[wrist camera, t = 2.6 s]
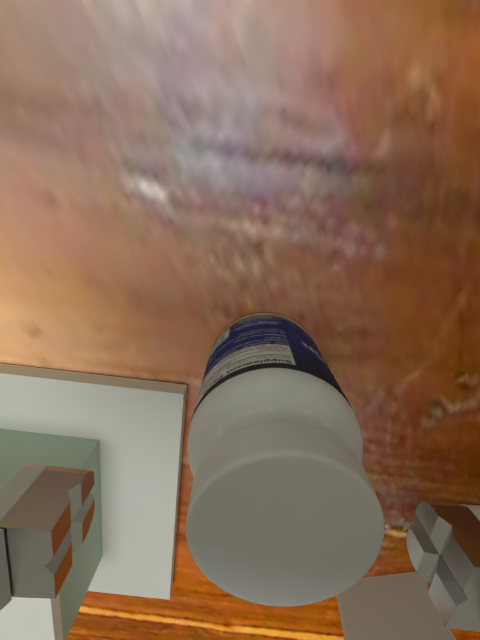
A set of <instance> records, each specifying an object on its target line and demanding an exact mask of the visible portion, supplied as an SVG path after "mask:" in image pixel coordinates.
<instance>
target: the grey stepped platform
mask: <svg viewBox="0 0 480 640" xmlns="http://www.w3.org/2000/svg"><path fill="white" fill-rule="evenodd" d="M186 395H187V385H185V384H176V383H167V382H159V381H150V380H141V379H133V378H124V377H115V376H107V375H98V374H89V373H81V372H72V371H63V370H55V369H46V368H37V367H29V366H20V365H11V364H3V363H0V490H1V489H2V488H3V487H4V486H5V485H6V484H7V482H8V481H9V480H10V479H11V478H12V477H13V476H14V475H15V474H16V473H17V472H18V470H19V469H20V468H21V467H23V466H25V465H27V464H37V465H45V466H58V467H66V468H74V469H83V470H91V471H93V472H94V481H95V484H94V486H93V487H92V489H91V491H90V493H91V494H92V496H93V497H94V498H95V508H94V514H93V519H92V522H91V525H90V528H89V531H88V534H87V536H86V538H85V540H84V542H83V544H82V545H81V546H79V547H78V548H77V549H76V550H74V551H73V552H72V566H71V568H70V571H69V573H68V575H67V577H66V579H65V581H64V583H63V585H62V587H61V589H60V591H59V593H58V595H57V597H56V599H47V598H22V597H12V600H11V601H10V602H9V603H8V604H7V605H6V606H5V607H4V608H3V609H1V610H0V640H66V638H67V636H68V634H69V631H70V629H71V627H72V624H73V622H74V620H75V618H76V615H77V613H78V611H79V609H80V606H81V604H82V602H83V599H84V597H85V595H86V593H87V591H94V592H103V593H113V594H122V595H131V596H141V597H150V598H159V599H168V600H170V595H171V590H172V585H173V575H174V561H175V547H176V534H177V520H178V506H179V492H180V478H181V464H182V450H183V436H184V422H185V408H186Z"/></svg>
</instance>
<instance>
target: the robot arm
mask: <svg viewBox="0 0 480 640" xmlns="http://www.w3.org/2000/svg"><path fill="white" fill-rule="evenodd" d="M94 484H95V481H94V472H93V471H91V470H83V469H74V468H66V467H58V466H45V465H37V464H27V465H25V466H23V467H21V468H20V469H19V470H18V472H17V473H16V474H15V475H14V476H13V477H12V478H11V479H10V480H9V481H8V482H7V484H6V485H5V486H4V487H3V488H2V489H1V490H0V610H1V609H3V608H4V607H5V606H6V605H7V604H8V603H9V602H10V601H11V600H12V597H22V598H47V599H56V597H57V595H58V593H59V591H60V589H61V587H62V585H63V583H64V581H65V579H66V577H67V575H68V573H69V571H70V568H71V566H72V552H73V551H74V550H76V549H77V548H78V547H79V546H81V545H82V544H83V542H84V540H85V538H86V536H87V534H88V531H89V528H90V525H91V522H92V519H93V514H94V508H95V498H94V497H93V496H92V494H91V493H90V491H91V489H92V487H93V486H94ZM415 515H416V517H417V519H418V520H417V521H416V522H415V523H413V524H412V525H411V526H410V527H409V530H408V533H407V537H406V539H407V550H408V553H409V556H410V560H411V562H412V564H413V566H414V568H415V570H416V572H417V573H418V574H420V575H421V576H422V577H423V578H424V579H425V580H426V581H427V582H428V595H429V596H430V598H431V600H432V602H433V604H434V606H435V608H436V610H437V611H438V613H439V615H440V617H441V619H442V621H443V623H444V625H445V627H446V628H450V629H459V630H468V631H477V632H480V506H476V505H464V504H461V505H459V504H451V503H439V502H426V501H422V502H421V503H419V504H418V505H417V508H416V510H415Z"/></svg>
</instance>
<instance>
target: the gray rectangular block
mask: <svg viewBox="0 0 480 640" xmlns="http://www.w3.org/2000/svg"><path fill="white" fill-rule="evenodd" d="M336 597H337V602H338V608H339V613H340V618H341V624H342V629H343V634H344V639H345V640H456V639H455V637H454V635H453V633H452V631H451V629H450V628H446V627H445V625H444V623H443V621H442V619H441V617H440V615H439V613H438V611H437V610H436V608H435V606H434V604H433V602H432V600H431V598H430V596H429V595H428V583H427V581H426V580H425V579H424V578H423V577H422V576H421V575H420V574H418V573H417V572H416V571H415V572H406V573H398V574H390V575H382V576H374V577H366V578H361V579H360V580H359V581H358V582H357V583H355V584H354V585H352V586H351V587H349V588H348V589H346V590H345V591H343V592H341V593H339V594H337V595H336Z"/></svg>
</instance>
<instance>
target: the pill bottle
mask: <svg viewBox="0 0 480 640" xmlns="http://www.w3.org/2000/svg"><path fill="white" fill-rule="evenodd" d="M187 450H188V460H189V464H190V468H191V471H192V474H193V476H194V479H193V484H192V488H191V496H190V502H189V508H188V514H187V521H186V535H187V543H188V547H189V550H190V553H191V555H192V557H193V559H194V561H195V563H196V565H197V566H198V568H199V569H200V570H201V571H202V573H203V574H204V575H205V576H206V577H207V578H208V579H209V580H210V581H211V582H212V583H214V584H215V585H217V586H218V587H219V588H221V589H222V590H224V591H225V592H227V593H229V594H231V595H233V596H235V597H238V598H240V599H243V600H246V601H249V602H252V603H256V604H261V605H268V606H281V607H286V606H301V605H307V604H312V603H316V602H320V601H323V600H325V599H328V598H331V597H333V596H335V595H337V594H339V593H341V592H343V591H345V590H346V589H348V588H349V587H351V586H352V585H354V584H355V583H357V582H358V581H359V580H360V579H361V578H362V577H363V576H364V575H365V574H366V573H367V572H368V571H369V569H370V568H371V567H372V565H373V564H374V562H375V561H376V559H377V557H378V555H379V552H380V550H381V547H382V544H383V539H384V532H385V525H384V517H383V512H382V508H381V505H380V503H379V500H378V498H377V495H376V493H375V491H374V488H373V486H372V484H371V482H370V479H369V477H368V475H367V473H366V471H365V469H364V467H363V465H362V458H363V439H362V433H361V429H360V426H359V423H358V420H357V418H356V416H355V413H354V411H353V409H352V407H351V405H350V404H349V402H348V400H347V398H346V397H345V395H344V393H343V392H342V390H341V388H340V387H339V385H338V383H337V381H336V380H335V378H334V376H333V374H332V373H331V371H330V369H329V368H328V366H327V364H326V362H325V360H324V359H323V357H322V355H321V353H320V352H319V350H318V348H317V346H316V345H315V343H314V341H313V340H312V338H311V337H310V335H309V334H308V332H307V331H306V330H305V329H304V328H303V327H302V326H301V325H299V324H298V323H297V322H295V321H293V320H292V319H290V318H287V317H285V316H282V315H278V314H272V313H256V314H251V315H247V316H244V317H242V318H240V319H238V320H236V321H234V322H233V323H231V324H230V325H229V326H227V327H226V328H225V329H224V330H223V331H222V332H221V334H220V335H219V336H218V338H217V339H216V341H215V343H214V345H213V348H212V350H211V354H210V357H209V360H208V363H207V367H206V371H205V374H204V378H203V381H202V385H201V388H200V392H199V395H198V398H197V402H196V406H195V409H194V413H193V416H192V419H191V423H190V428H189V433H188V441H187Z"/></svg>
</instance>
